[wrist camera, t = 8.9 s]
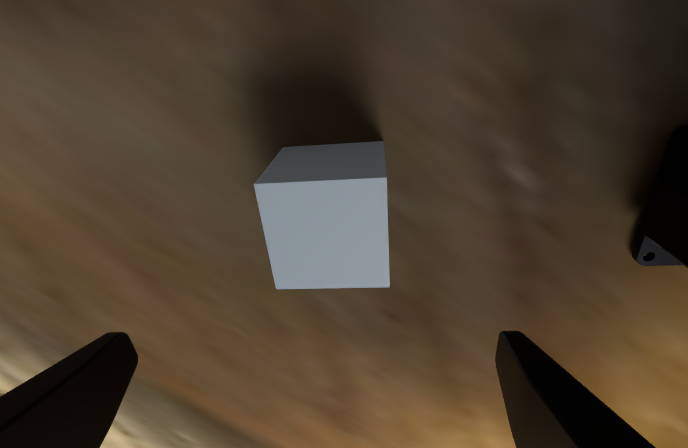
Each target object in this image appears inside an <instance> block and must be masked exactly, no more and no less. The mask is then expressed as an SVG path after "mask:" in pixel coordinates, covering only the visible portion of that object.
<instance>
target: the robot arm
mask: <svg viewBox="0 0 688 448" xmlns="http://www.w3.org/2000/svg"><path fill="white" fill-rule="evenodd" d="M687 136H688V124H686V125H683V126H681V127H679V128H678V129H677V130H676V131H675V132H674V133H673V135H672V137H671V139H670V142H669V145H668V148H667V151H666V154H665V157H664V160H663V163H662V166H661V169H660V172H659V175H658V178H657V180H656V182H655V185H654V188H653V191H652V194H651V197H650V200H649V203H648V206H647V209H646V212H645V215H644V218H643V221H642V224H641V227H640V231H639V234H638V237H637V240H636V243H635V246H634V249H633V251H632V257H633V259H634V260H635V261H637V262H638V263H639V264H640V265H644V266H659V265H684V266H685V267H687V268H688V141H687V142H685V139H686V138H687ZM647 253H648V255H646V256H644V255H645V254H647ZM495 361H496V368H497V373H498V377H499V381H500V385H501V390H502V394H503V398H504V402H505V407H506V411H507V415H508V419H509V424H510V428H511V432H512V435H513V439H514V442H515V445H516V448H655V447H654V446H653V445H652V444H651V443H650V442H648V441H647V440H646V439H645V438H644V437H643V436H641V435H640V434H639V433H638V432H637V431H636V430H635V429H633V428H632V427H631V426H630V425H629V424H628V423H626V422H625V421H624V420H623V419H622V418H621V417H619V416H618V415H617V414H616V413H615V412H614V411H612V410H611V409H610V408H609V407H608V406H607V405H605V404H604V403H603V402H602V401H601V400H600V399H598V398H597V397H596V396H595V395H594V394H593V393H592V392H590V391H589V390H588V389H587V388H586V387H585V386H583V385H582V384H581V383H580V382H579V381H578V380H576V379H575V378H574V377H573V376H572V375H571V374H569V373H568V372H567V371H566V370H565V369H564V368H562V367H561V366H560V365H559V364H558V363H557V362H555V361H554V360H553V359H552V358H551V357H550V356H549V355H547V354H546V353H545V352H544V351H543V350H542V349H540V348H539V347H538V346H537V345H536V344H535V343H533V342H532V341H531V340H530V339H529V338H528V337H526V336H525V335H524V334H523V333H521V332H520V331H502V332H500V334H499V338H498V344H497V350H496V357H495ZM137 363H138V355H137V352H136V350H135V348H134V346H133V344H132V342H131V340H130V338H129V336H128V335H127V334H126V333H124V332H110V333H106V334H105V335H103V336H101V337H99V338H98V339H96V340H94V341H93V342H91V343H89V344H88V345H86V346H84V347H83V348H81V349H79V350H78V351H76V352H74V353H73V354H71V355H69V356H68V357H66V358H64V359H63V360H61V361H59V362H58V363H56V364H54V365H53V366H51V367H49V368H48V369H46V370H44V371H43V372H41V373H39V374H38V375H36V376H34V377H33V378H31V379H29V380H28V381H26V382H24V383H23V384H21V385H19V386H18V387H16V388H14V389H13V390H11V391H9V392H7V393H6V394H4V395H2V396H1V397H0V448H100V446H101V444H102V442H103V440H104V438H105V436H106V435H107V433H108V431H109V429H110V427H111V425H112V422H113V420H114V418H115V416H116V413H117V411H118V409H119V406H120V404H121V402H122V399H123V397H124V395H125V392H126V390H127V388H128V385H129V383H130V381H131V378H132V376H133V374H134V371H135V369H136V367H137Z"/></svg>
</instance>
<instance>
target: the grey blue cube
mask: <svg viewBox="0 0 688 448" xmlns="http://www.w3.org/2000/svg"><path fill="white" fill-rule="evenodd" d="M254 187H255V192H256V196H257V201H258V206H259V211H260V215H261V220H262V225H263V229H264V234H265V239H266V244H267V248H268V253H269V258H270V262H271V267H272V272H273V277H274V281H275V286H276V289H313V288H370V287H390V280H389V246H388V211H387V177H386V164H385V150H384V141H376V142H359V143H343V144H327V145H310V146H294V147H283V148H282V149H281V150H280V152H279V153H278V154H277V155H276V157H275V158H274V159H273V160H272V162H271V163H270V164H269V165H268V167H267V168H266V169H265V171H264V172H263V173H262V174H261V176H260V177H259V178H258V179H257V181H256V182H255V183H254Z"/></svg>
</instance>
